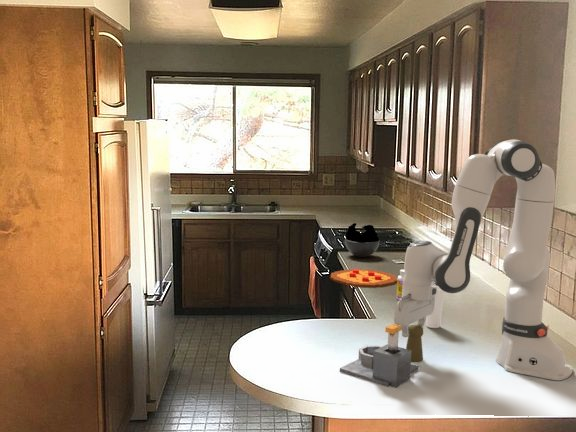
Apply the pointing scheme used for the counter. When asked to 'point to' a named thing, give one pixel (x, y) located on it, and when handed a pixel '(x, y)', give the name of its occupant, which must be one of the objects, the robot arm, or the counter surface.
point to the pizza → (363, 278)
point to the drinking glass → (436, 310)
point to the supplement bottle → (400, 284)
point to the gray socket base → (382, 366)
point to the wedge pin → (393, 337)
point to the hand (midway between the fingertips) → (412, 333)
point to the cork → (415, 343)
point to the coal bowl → (361, 241)
